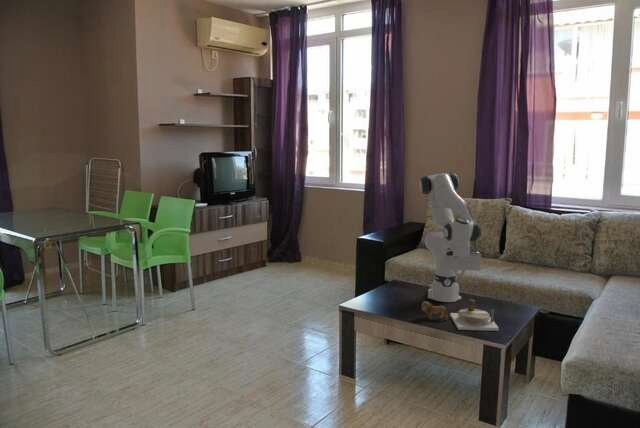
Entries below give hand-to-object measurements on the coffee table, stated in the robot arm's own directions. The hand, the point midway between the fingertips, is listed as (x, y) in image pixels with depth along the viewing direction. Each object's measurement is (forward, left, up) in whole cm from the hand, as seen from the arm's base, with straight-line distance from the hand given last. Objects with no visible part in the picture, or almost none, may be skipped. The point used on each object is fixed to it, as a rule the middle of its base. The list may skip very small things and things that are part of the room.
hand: (458, 278), depth 257 cm
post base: (+6, +7, -21) cm, 23 cm away
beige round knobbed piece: (+4, +7, -18) cm, 20 cm away
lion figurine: (+1, -11, -21) cm, 24 cm away
